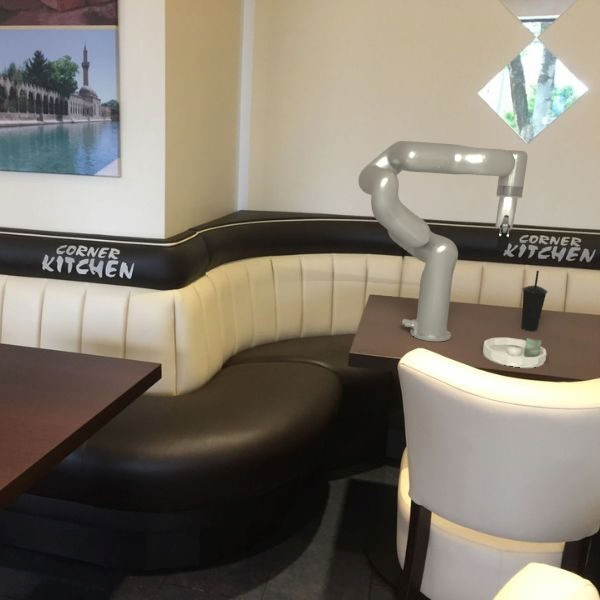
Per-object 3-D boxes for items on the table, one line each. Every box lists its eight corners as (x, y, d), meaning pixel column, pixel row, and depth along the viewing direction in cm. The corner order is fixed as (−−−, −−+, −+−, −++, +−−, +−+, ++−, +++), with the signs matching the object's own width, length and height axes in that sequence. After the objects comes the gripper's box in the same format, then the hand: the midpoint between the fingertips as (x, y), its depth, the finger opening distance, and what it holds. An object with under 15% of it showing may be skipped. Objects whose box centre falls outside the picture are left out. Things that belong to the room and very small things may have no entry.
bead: (524, 357, 171) (526, 341, 170) (523, 353, 175) (526, 336, 173) (539, 359, 170) (541, 343, 168) (538, 355, 173) (541, 338, 172)
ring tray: (481, 362, 169) (482, 352, 168) (484, 343, 184) (485, 334, 183) (545, 372, 164) (547, 361, 163) (543, 352, 179) (544, 342, 178)
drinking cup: (520, 323, 206) (529, 267, 200) (543, 328, 202) (552, 270, 196) (514, 329, 200) (522, 270, 194) (537, 334, 196) (547, 274, 190)
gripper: (497, 189, 192) (490, 241, 197) (496, 193, 176) (488, 250, 181) (522, 190, 190) (514, 243, 194) (523, 195, 174) (514, 253, 179)
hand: (502, 247), depth 188 cm, fingers open, 9 cm apart
